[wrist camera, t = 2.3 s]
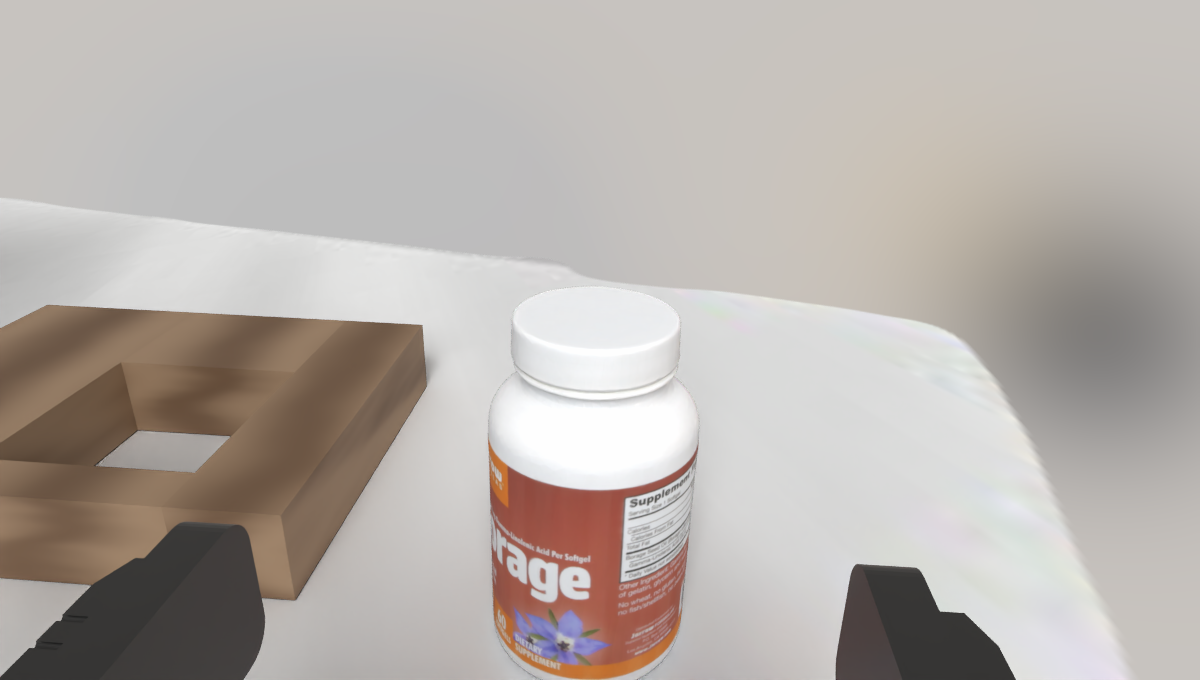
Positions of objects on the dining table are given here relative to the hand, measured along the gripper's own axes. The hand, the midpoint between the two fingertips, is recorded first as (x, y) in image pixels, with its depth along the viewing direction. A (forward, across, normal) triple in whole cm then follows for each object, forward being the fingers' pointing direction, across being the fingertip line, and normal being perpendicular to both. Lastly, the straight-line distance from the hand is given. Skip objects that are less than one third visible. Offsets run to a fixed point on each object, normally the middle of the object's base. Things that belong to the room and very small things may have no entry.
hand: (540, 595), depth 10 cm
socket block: (+20, +20, +11) cm, 31 cm away
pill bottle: (+12, 0, +12) cm, 17 cm away
